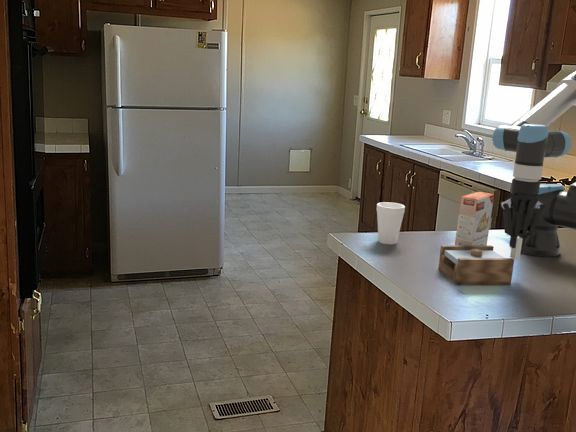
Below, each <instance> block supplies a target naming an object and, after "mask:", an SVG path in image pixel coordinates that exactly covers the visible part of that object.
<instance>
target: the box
mask: <svg viewBox="0 0 576 432" xmlns="http://www.w3.org/2000/svg"><path fill="white" fill-rule="evenodd" d="M471 249H479V250H493V251H494V246H493V245H487V246H485V245H455V244H453V245H452V244H440V252H439V261H438V267H437V269H438V270H439V271H440V272H441V271H442V272H443V273H442V272H441V273H442V274H444V275H445V276H446V277H447V278H448V279H450V280H451V281H452V282H453V283H454V284H455V285H457V286H511V285H512V278H513V271H514V266H515V265H514V264H515V260H514V259H513V258H511V257H504V258H458V263H457V265H456V264H455V263H454V262H452V261H451V260H450V259H449V258H447V257H446V256H445V255H444V251H445V250H471Z"/></svg>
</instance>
